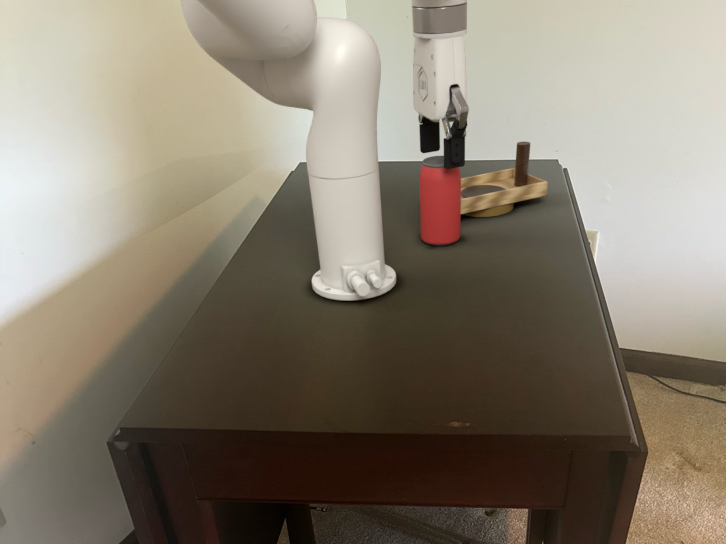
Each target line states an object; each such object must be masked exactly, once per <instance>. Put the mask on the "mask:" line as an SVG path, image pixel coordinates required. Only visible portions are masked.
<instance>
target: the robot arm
mask: <svg viewBox="0 0 726 544" xmlns="http://www.w3.org/2000/svg"><path fill="white" fill-rule="evenodd" d="M180 5H181V8H182V13H183V17H184V20H185V24H186V25H187V28H188V30H189V32H190V34H191V35H192V37H193V39H194V40H195V41H196V43H197V44H198V46H199V47H200V48H201V49H202V50H203V51H204V52H205V53H206V54H207V55H208V56H209V57H210V58H211V59H213V60H214V62H216V63H217V64H219V65H220V66H221V67H223V68H224V69H225V70H226V71H228V72H229V73H230V74H232V75H233V76H234V77H235V78H237V79H238V80H239V81H241V82H242V83H244V84H245V85H246V86H248V88H250V89H251V90H253V91H254V92H255V93H257V94H258V95H260V96H261V97H263V98H264V99H265V100H267V101H269V102H272V103H273V104H275V105H278V106H282V107H286V108H294V109H302V110H308V111H311V112H312V120H311V124H310V126H309V131H308V134H307V138H306V143H305V145H306V146H305V161H306V169H307V177H308V182H309V184H308V185H309V192H310V199H311V208H312V214H313V222H314V230H315V238H316V245H317V251H318V252H317V253H318V260H319V261H318V262H319V266H320V267H319V270H318V271H316V272H315V273H314V274H313V275H312V276H311V288H312V291H314V293H316V294H317V295H318V296H320V297H322V298H325V299H329V300H332V301H333V300H334V301H341V302H342V301H343V302H346V301H347V302H350V301H351V302H352V301H354V302H355V301H363V300H369V299H373V298H376V297H379V296H382V295H384V294H386V293H387V292H390V291H391V290H392V289H393V288H394V287H395V285H396V284H397V274H396V271H395V270H394V269H393V268H392V267H391V266H390V265H387V264H386V262H385V245H384V231H383V213H382V199H381V182H380V181H381V180H380V166H379V165H380V164H379V152H378V151H379V150H378V148H379V147H378V110H379V109H378V108H379V98H380V88H381V80H382V79H381V78H382V63H381V56H380V55H381V54H380V52H379V48H378V45H377V42H376V41H375V39H374V37H373V36H372V34H371V33H370V32H369V31H368V30H367V29H366V28H365V27H363V26H362V25H360V24H359V23H358V22H355V21H352V20H349V19H347V18H340V17H330V16H329V17H327V16H318V13H317V12H318V11H317V7H316V3H315V0H180ZM411 17H412V37H413V38H414V42H413V54H412V55H413V58H412V62H413V63H412V90H413V91H412V100H413V102H412V103H413V109H414V110H415V112H416V113H417V114H418V117H417V120H418V123H419V124H418V125H419V126H418V127H419V128H418V129H419V147H420V148H419V150H420V153H422V154H428V153H433V152H438V151H440V150H441V129H440V128H441V126H440V125H441V124H440V123H441V122H442V126H443V131H444V134H445V138H443V156H444V168H446V169H452V168H457V167H459V168H463V167H464V166H465V164H466V137H467V127H468V116H469V112H470V108H469V107H470V106H469V105H468V103H467V64H466V61H467V60H466V48H465V47H466V45H465V36H464V35H466V34H467V33H468V0H411ZM440 121H441V122H440ZM451 123H452V124H451Z"/></svg>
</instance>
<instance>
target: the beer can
mask: <svg viewBox="0 0 726 544" xmlns="http://www.w3.org/2000/svg"><path fill="white" fill-rule="evenodd" d="M421 164H422V165H421V168H420V171H419V177H418V179H419V180H418V181H419V216H420V217H419V219H420V239H421V241H422V242H423V243H425V244H427V245H429V246H434V247H444V246H445V247H446V246H450V245H453V244H455V243H457V242H458V241H459V239H460V238H461V223H462V222H461V220H462V219H461V217H462V216H461V215H462V214H461V178H462V174H461V169H460V167H457V168H452V169H446V168H444V155H433V156H428V157H426V158H423V160H422V161H421Z"/></svg>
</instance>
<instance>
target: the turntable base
mask: <svg viewBox="0 0 726 544" xmlns="http://www.w3.org/2000/svg"><path fill="white" fill-rule="evenodd" d="M514 208H515V202H514V203H510V204H505V205H501V206H496V207H492V208H487V209H483V210H478V211H474V212H469V213H464V214H461V215H462V216H466V217H473V218H490V217H498V216H502V215H505V214H508V213H511V211H512V210H513V209H514Z"/></svg>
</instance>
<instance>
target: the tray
mask: <svg viewBox="0 0 726 544" xmlns="http://www.w3.org/2000/svg"><path fill="white" fill-rule="evenodd" d="M530 153H531V142H530V141H518V142H517V143H516V150H515V154H516V155H515V167H511V168H506V169H501V170H496V171H491V172H486V173H481V174H477V175H472V176H466V177H461V215H462V214H464V213H469V212H474V211H478V210H483V209H487V208H492V207H496V206H501V205H505V204H510V203H514V204H515V203H519V202H523V201H528V200H532V199H536V198H537V199H538V198H541V197H546V196H547V195H548V186H549V182H548V181H547V180H545V179H542V178H539V177H538V176H535V175H532V174H530V173H529V167H530V155H531V154H530Z"/></svg>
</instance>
